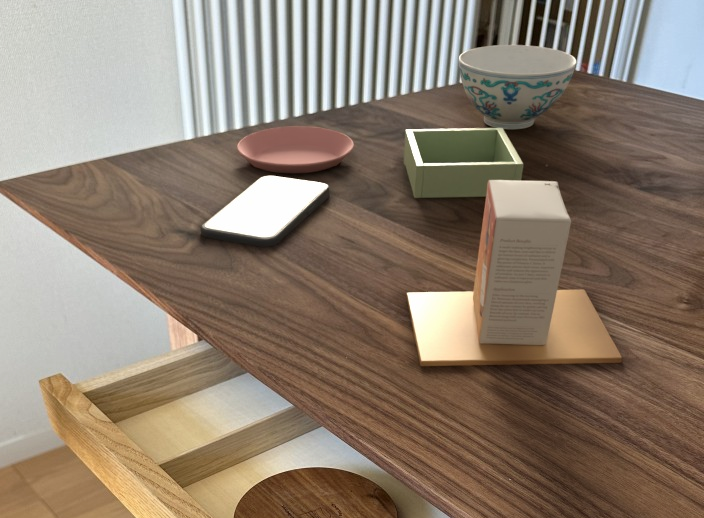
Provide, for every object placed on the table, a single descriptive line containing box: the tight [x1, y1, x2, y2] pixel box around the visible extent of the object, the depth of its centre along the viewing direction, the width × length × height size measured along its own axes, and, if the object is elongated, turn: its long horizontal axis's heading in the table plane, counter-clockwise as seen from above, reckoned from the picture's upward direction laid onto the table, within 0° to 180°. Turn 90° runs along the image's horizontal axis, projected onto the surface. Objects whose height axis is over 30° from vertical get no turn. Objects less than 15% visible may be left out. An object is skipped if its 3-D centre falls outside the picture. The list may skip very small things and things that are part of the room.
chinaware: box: [458, 44, 578, 130], centre depth 113 cm, size 15×15×8 cm
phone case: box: [200, 175, 331, 248], centre depth 91 cm, size 9×2×16 cm
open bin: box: [403, 127, 524, 199], centre depth 98 cm, size 12×13×4 cm
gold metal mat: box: [405, 289, 623, 367], centre depth 72 cm, size 16×12×1 cm
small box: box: [473, 180, 572, 345], centre depth 68 cm, size 8×6×10 cm
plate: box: [236, 125, 355, 174], centre depth 105 cm, size 14×14×2 cm
